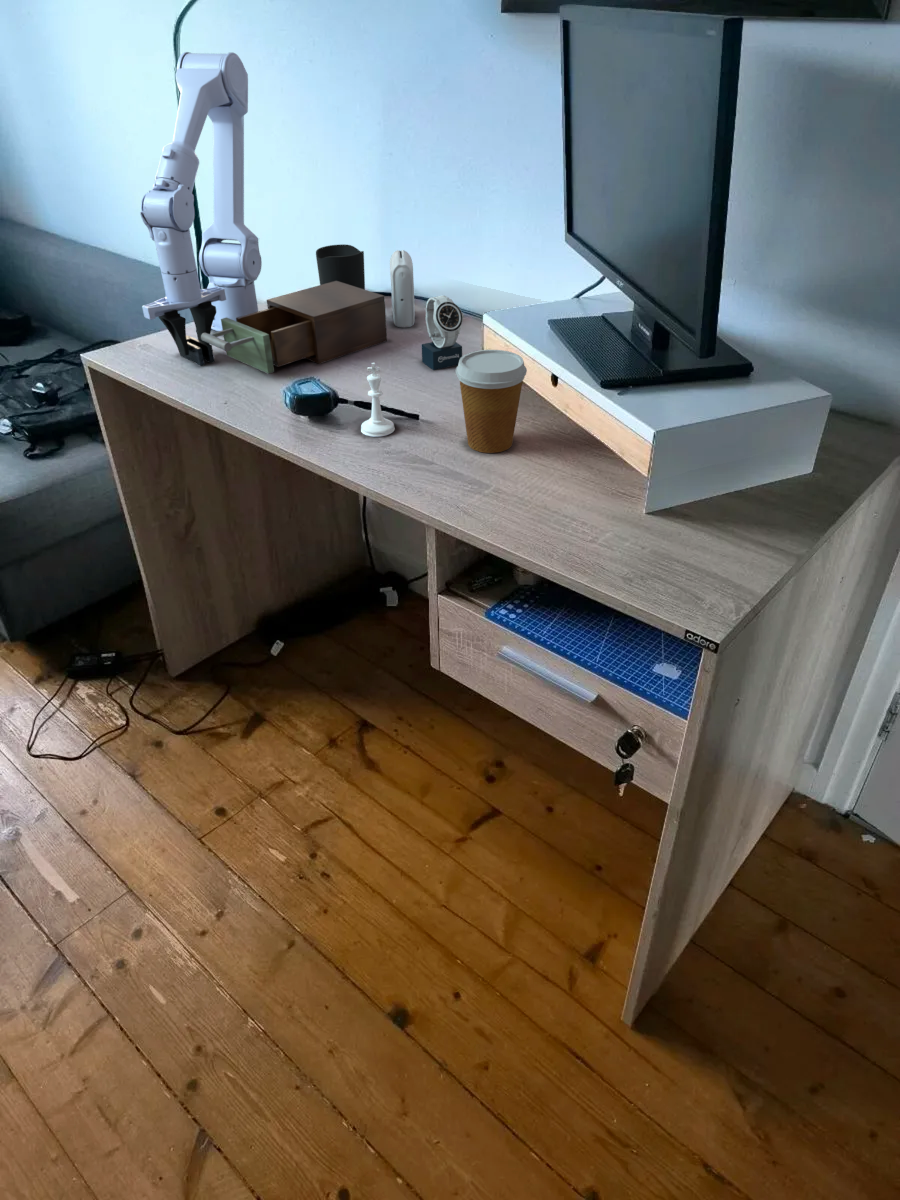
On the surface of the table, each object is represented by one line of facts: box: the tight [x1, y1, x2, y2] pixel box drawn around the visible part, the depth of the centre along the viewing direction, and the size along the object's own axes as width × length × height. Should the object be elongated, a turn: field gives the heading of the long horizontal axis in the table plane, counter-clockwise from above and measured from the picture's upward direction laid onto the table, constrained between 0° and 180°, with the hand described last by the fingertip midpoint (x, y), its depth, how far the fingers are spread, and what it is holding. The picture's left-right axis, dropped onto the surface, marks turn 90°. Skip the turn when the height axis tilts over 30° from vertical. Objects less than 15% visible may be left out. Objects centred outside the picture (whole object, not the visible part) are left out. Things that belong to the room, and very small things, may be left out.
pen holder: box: [315, 243, 366, 290], centre depth 171 cm, size 9×9×10 cm
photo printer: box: [389, 249, 416, 328], centre depth 161 cm, size 10×4×12 cm, turn 4°
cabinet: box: [266, 281, 388, 364], centre depth 152 cm, size 16×14×8 cm
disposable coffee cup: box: [455, 349, 528, 454], centre depth 117 cm, size 10×10×12 cm
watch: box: [421, 295, 465, 371], centre depth 142 cm, size 6×8×11 cm
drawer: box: [201, 307, 315, 375], centre depth 145 cm, size 20×12×6 cm, turn 135°
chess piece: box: [360, 362, 396, 438], centre depth 122 cm, size 5×5×10 cm
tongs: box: [179, 335, 215, 367], centre depth 148 cm, size 8×3×3 cm, turn 45°
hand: (194, 350), depth 148 cm, fingers open, 3 cm apart
